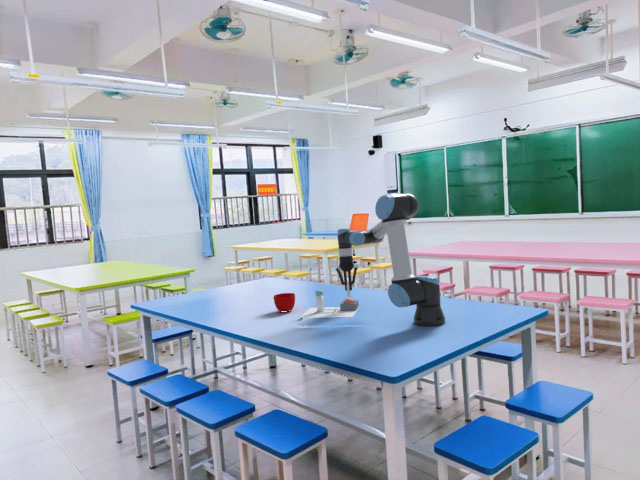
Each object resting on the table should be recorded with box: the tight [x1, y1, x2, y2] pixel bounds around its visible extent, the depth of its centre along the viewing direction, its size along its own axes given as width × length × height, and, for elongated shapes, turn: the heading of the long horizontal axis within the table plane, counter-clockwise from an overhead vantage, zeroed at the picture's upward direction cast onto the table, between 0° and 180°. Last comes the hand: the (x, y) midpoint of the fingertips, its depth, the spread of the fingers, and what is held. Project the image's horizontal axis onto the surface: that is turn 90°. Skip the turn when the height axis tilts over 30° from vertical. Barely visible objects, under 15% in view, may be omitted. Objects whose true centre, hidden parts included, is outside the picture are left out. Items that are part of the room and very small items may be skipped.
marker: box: [315, 289, 325, 312], centre depth 265 cm, size 4×4×12 cm
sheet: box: [298, 306, 360, 319], centre depth 262 cm, size 24×30×1 cm
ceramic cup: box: [273, 292, 296, 312], centre depth 279 cm, size 13×17×10 cm
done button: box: [344, 297, 354, 303], centre depth 266 cm, size 5×5×4 cm
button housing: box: [339, 299, 360, 312], centre depth 266 cm, size 9×9×4 cm
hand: (349, 296), depth 265 cm, fingers closed
